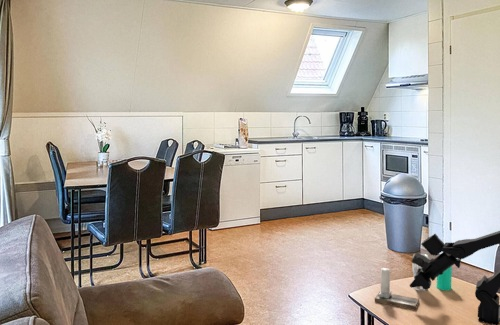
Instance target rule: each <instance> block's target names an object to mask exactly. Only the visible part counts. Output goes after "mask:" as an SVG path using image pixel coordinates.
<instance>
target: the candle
mask: <svg viewBox="0 0 500 325" xmlns="http://www.w3.org/2000/svg"><path fill="white" fill-rule="evenodd" d="M452 267H453V265H452V266H451V267H450V268H448V269H447V270H446V271H444V272H443V274H442V275H439V276H437V277H436V289H439V290H440V291H451V290H452V271H453V268H452Z"/></svg>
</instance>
